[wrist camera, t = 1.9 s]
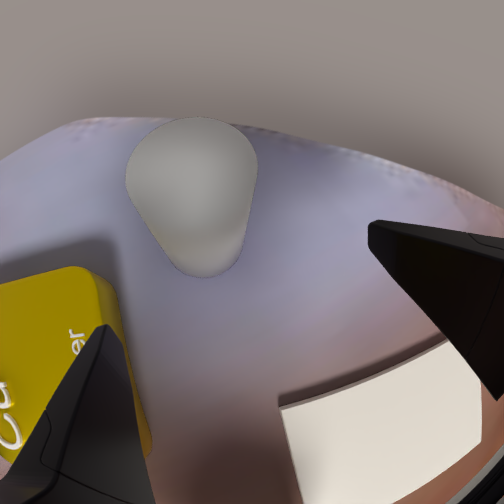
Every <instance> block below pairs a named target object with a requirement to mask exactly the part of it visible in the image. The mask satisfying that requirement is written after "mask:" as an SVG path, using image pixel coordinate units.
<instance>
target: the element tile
mask: <svg viewBox="0 0 504 504" xmlns="http://www.w3.org/2000/svg"><path fill="white" fill-rule="evenodd" d="M104 324H108V325H110V327H111V328H112V329H113V331H114V332H115V334H116V335H117V337H118V338H119V339H120V341H121V343H122V345H123V348H124V352H125V358H126V362H127V367H128V372H129V376H130V381H131V385H132V390H133V396H134V404H135V411H136V417H137V423H138V429H139V435H140V440H141V445H142V450H143V455H144V460H145V459H146V457H147V456H148V454H149V453H150V451H151V449H152V438H151V433H150V430H149V427H148V424H147V421H146V418H145V415H144V412H143V408H142V405H141V402H140V398H139V395H138V391H137V388H136V384H135V380H134V376H133V372H132V368H131V364H130V360H129V356H128V351H127V347H126V342H125V337H124V332H123V327H122V321H121V316H120V310H119V304H118V298H117V295H116V292H115V290H114V288H113V287H112V285H111V284H110V283H109V282H108V281H107V280H105V279H104V278H102V277H100V276H98V275H96V274H95V273H93V272H91V271H89V270H87V269H86V268H82V267H78V266H68V267H64V268H60V269H56V270H52V271H48V272H45V273H41V274H37V275H33V276H29V277H26V278H22V279H18V280H14V281H11V282H7V283H4V284H0V455H1V456H2V457H3V458H4V459H5V460H7V461H8V462H10V463H11V464H13V462H14V461H15V459H16V457H17V456H18V454H19V452H20V451H21V449H22V447H23V446H24V444H25V442H26V441H27V439H28V437H29V436H30V434H31V432H32V431H33V429H34V427H35V425H36V424H37V422H38V420H39V418H40V417H41V415H42V413H43V411H44V410H46V409H45V408H46V406H47V404H48V402H49V401H50V399H51V397H52V395H53V394H54V392H55V390H56V389H57V387H58V385H59V384H60V382H61V380H62V379H63V377H64V375H65V374H66V372H67V371H68V369H69V367H70V366H71V364H72V363H73V361H74V360H75V358H76V356H77V355H78V353H79V352H80V350H81V349H82V347H83V346H84V344H85V343H86V341H87V340H88V338H89V337H90V335H91V334H92V332H93V331H94V329H95V328H96V327H98V326H101V325H104Z"/></svg>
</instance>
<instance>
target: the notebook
mask: <svg viewBox="0 0 504 504" xmlns="http://www.w3.org/2000/svg"><path fill="white" fill-rule="evenodd" d="M279 411H280V415H281V419H282V423H283V428H284V432H285V436H286V440H287V444H288V448H289V452H290V456H291V460H292V464H293V468H294V472H295V476H296V480H297V484H298V488H299V492H300V495H301V499H302V503H303V504H392V503H394V502H396V501H397V500H399V499H401V498H403V497H404V496H406V495H408V494H410V493H411V492H413V491H415V490H416V489H418V488H420V487H421V486H423V485H424V484H426V483H427V482H429V481H430V480H432V479H433V478H435V477H436V476H438V475H439V474H441V473H442V472H443V471H445V470H446V469H448V468H449V467H450V466H452V465H453V464H454V463H456V462H457V461H458V460H459V459H461V458H462V457H463V456H464V455H466V454H467V453H468V452H469V451H471V450H472V449H473V448H474V447H475V446H476V445H478V444H479V443H480V442H481V425H482V409H481V384H480V379H479V378H478V377H477V375H476V374H475V373H474V371H473V370H472V369H471V368H470V366H469V365H468V364H467V362H466V361H465V360H464V358H463V357H462V356H461V355H460V353H459V352H458V351H457V350H456V349H455V347H454V346H453V345H452V344H451V343H450V341H449V340H448V339H446V340H444V341H442V342H440V343H438V344H437V345H435V346H433V347H431V348H429V349H427V350H425V351H423V352H421V353H419V354H418V355H416V356H414V357H411V358H409V359H407V360H405V361H403V362H401V363H399V364H397V365H395V366H392V367H390V368H388V369H386V370H384V371H381V372H379V373H377V374H374V375H372V376H369V377H367V378H365V379H362V380H360V381H357V382H354V383H352V384H349V385H347V386H344V387H341V388H338V389H336V390H333V391H330V392H327V393H324V394H321V395H318V396H315V397H312V398H309V399H305V400H302V401H299V402H295V403H292V404H288V405H285V406H281V407H279Z"/></svg>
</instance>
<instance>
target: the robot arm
mask: <svg viewBox="0 0 504 504" xmlns="http://www.w3.org/2000/svg"><path fill="white" fill-rule="evenodd" d="M368 247H369V249H370V251H371V252H372V253H373V254H374V256H375V257H376V258H377V259H378V261H379V262H380V263H381V264H382V265H383V267H384V268H385V269H386V270H387V272H388V273H389V274H390V276H391V277H392V278H393V279H394V280H395V281H396V282H397V284H398V285H399V286H400V287H401V288H402V289H403V290H404V291H405V292H406V293H407V294H408V295H409V296H410V297H411V298H412V299H413V301H414V302H415V303H416V304H417V305H418V306H419V307H420V308H421V309H422V310H423V311H424V313H425V314H426V315H427V316H428V317H429V318H430V319H431V320H432V322H433V323H434V324H435V325H436V326H437V327H438V328H439V330H440V331H441V332H442V333H443V334H444V335H445V337H446V338H447V339H448V340H449V341H450V343H451V344H452V345H453V346H454V347H455V349H456V350H457V351H458V352H459V353H460V355H461V356H462V357H463V358H464V360H465V361H466V362H467V364H468V365H469V366H470V368H471V369H472V370H473V371H474V373H475V374H476V375H477V377H478V378H479V379H480V381H481V382H482V383H483V385H484V386H485V387H486V389H487V390H488V391H489V393H490V394H491V395H492V397H493V398H494V399H495V400H496V401H498V399H499V398H500V397H501V396H502V395H503V394H504V238H498V237H491V236H485V235H479V234H473V233H466V232H461V231H455V230H449V229H442V228H436V227H429V226H422V225H415V224H408V223H401V222H393V221H386V220H376V221H373V222H371V223H370V224H369V225H368ZM45 409H46V410H44V411H43V413H42V415H41V417H40V418H39V420H38V422H37V424H36V425H35V427H34V429H33V431H32V432H31V434H30V436H29V437H28V439H27V441H26V442H25V444H24V446H23V447H22V449H21V451H20V452H19V454H18V456H17V457H16V459H15V461H14V462H13V464H12V466H11V468H10V469H9V471H8V473H7V474H6V475H5V476H4V478H2V479H1V480H0V504H156V503H155V499H154V496H153V492H152V489H151V485H150V481H149V477H148V473H147V469H146V464H145V460H144V455H143V450H142V445H141V440H140V435H139V429H138V423H137V417H136V411H135V404H134V396H133V390H132V385H131V381H130V376H129V372H128V367H127V362H126V358H125V352H124V348H123V345H122V343H121V341H120V339H119V338H118V337H117V335H116V334H115V332H114V331H113V329H112V328H111V327H110V325H108V324H104V325H101V326H98V327H96V328H95V329H94V331H93V332H92V334H91V335H90V337H89V338H88V340H87V341H86V343H85V344H84V346H83V347H82V349H81V350H80V352H79V353H78V355H77V356H76V358H75V360H74V361H73V363H72V364H71V366H70V367H69V369H68V371H67V372H66V374H65V375H64V377H63V379H62V380H61V382H60V384H59V385H58V387H57V389H56V390H55V392H54V394H53V395H52V397H51V399H50V401H49V402H48V404H47V406H46V408H45ZM503 495H504V444H503V445H502V447H501V448H500V449H499V450H498V451H497V453H496V454H495V455H494V456H493V457H492V458H491V460H490V461H489V462H488V463H487V464H486V465H485V466H484V467H483V468H482V469H481V470H480V472H479V473H478V474H477V475H476V476H475V477H474V478H473V479H472V480H471V481H470V482H469V483H468V484H467V485H466V486H465V487H463V488H462V489H461V490H460V491H459V492H458V493H457V494H456V495H455V496H454V497H452V498H451V499H450V500H449V501H448V502H447V503H446V504H504V497H503ZM502 497H503V498H502Z"/></svg>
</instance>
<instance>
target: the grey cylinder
mask: <svg viewBox="0 0 504 504" xmlns="http://www.w3.org/2000/svg"><path fill="white" fill-rule="evenodd" d="M257 174H258V162H257V157H256V153H255V151H254V149H253V147H252V145H251V143H250V142H249V140H248V139H247V138H246V137H245V136H244V135H243V134H242V133H241V132H240V131H239V130H238V129H236V128H235V127H233V126H231V125H229V124H227V123H225V122H222V121H220V120H216V119H212V118H205V117H191V118H183V119H178V120H174V121H171V122H169V123H166V124H164V125H162V126H160V127H158V128H156V129H155V130H153V131H152V132H150V133H149V134H148V135H147V136H146V137H144V138H143V139H142V141H141V142H140V143H139V144H138V145H137V146H136V148H135V149H134V151H133V153H132V154H131V156H130V159H129V161H128V164H127V168H126V175H125V181H126V188H127V192H128V195H129V198H130V199H131V201H132V203H133V205H134V206H135V208H136V209H137V211H138V213H139V214H140V216H141V217H142V219H143V220H144V222H145V223H146V225H147V226H148V228H149V230H150V231H151V233H152V234H153V236H154V237H155V239H156V240H157V242H158V243H159V245H160V246H161V248H162V249H163V251H164V252H165V253H166V255H167V256H168V258H169V259H170V261H171V262H172V264H173V265H174V266H175V267H176V268H177V269H178V270H180V271H181V272H183V273H184V274H186V275H189V276H192V277H196V278H211V277H215V276H218V275H220V274H222V273H224V272H226V271H227V270H228V269H230V268H231V267H232V266H233V265H234V264H235V262H236V261H237V259H238V258H239V256H240V254H241V251H242V247H243V242H244V237H245V233H246V228H247V223H248V218H249V213H250V208H251V204H252V199H253V194H254V189H255V185H256V180H257Z"/></svg>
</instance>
